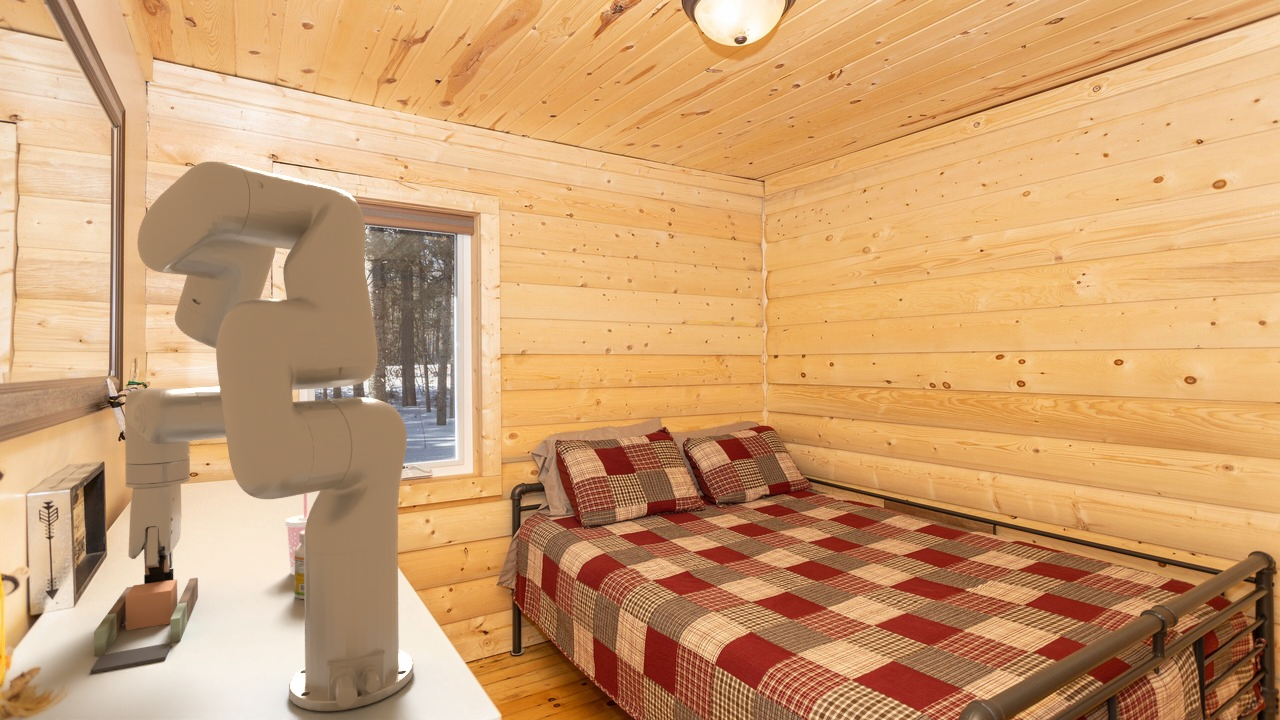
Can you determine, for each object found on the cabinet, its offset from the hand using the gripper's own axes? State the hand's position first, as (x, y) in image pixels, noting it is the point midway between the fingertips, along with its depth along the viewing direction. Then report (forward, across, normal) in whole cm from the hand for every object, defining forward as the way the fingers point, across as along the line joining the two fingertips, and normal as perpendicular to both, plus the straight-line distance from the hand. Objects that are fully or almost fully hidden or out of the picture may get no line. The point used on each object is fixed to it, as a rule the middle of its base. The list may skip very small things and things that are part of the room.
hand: (159, 598), depth 94 cm
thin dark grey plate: (+1, +18, 0) cm, 18 cm away
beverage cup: (+2, -9, +19) cm, 21 cm away
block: (+1, +5, 0) cm, 5 cm away
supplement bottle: (+2, +4, +20) cm, 21 cm away
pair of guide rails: (+1, +6, 0) cm, 6 cm away
